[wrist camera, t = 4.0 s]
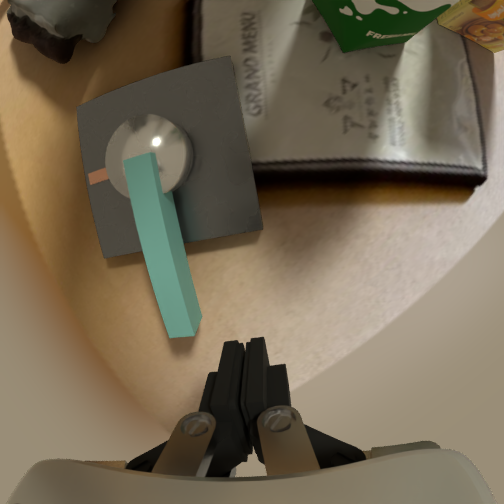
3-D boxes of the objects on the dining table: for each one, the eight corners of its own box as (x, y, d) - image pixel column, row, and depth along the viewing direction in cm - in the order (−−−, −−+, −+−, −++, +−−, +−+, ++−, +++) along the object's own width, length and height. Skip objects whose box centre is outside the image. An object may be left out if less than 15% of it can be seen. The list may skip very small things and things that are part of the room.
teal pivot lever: (186, 111, 19) (171, 100, 16) (227, 309, 24) (221, 333, 20) (116, 133, 20) (92, 128, 16) (160, 317, 24) (146, 339, 20)
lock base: (232, 62, 20) (230, 54, 18) (263, 225, 23) (263, 229, 22) (85, 109, 21) (75, 106, 19) (111, 253, 25) (103, 259, 23)
